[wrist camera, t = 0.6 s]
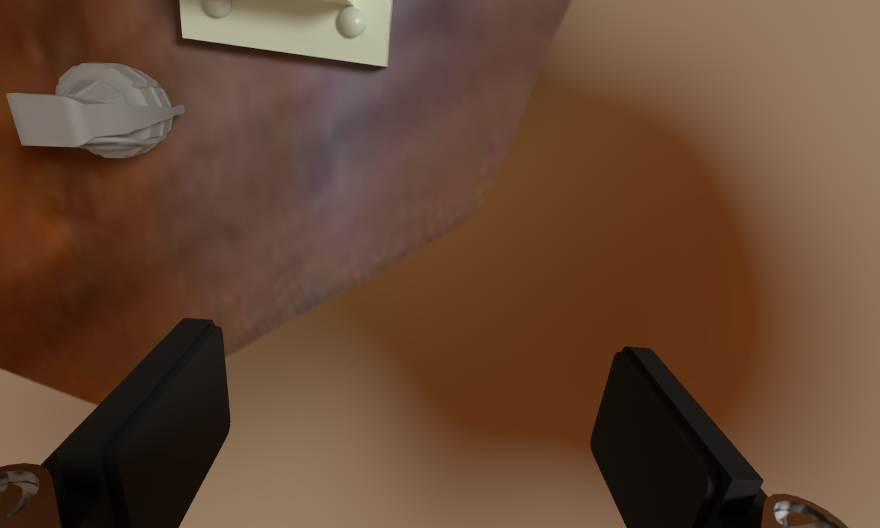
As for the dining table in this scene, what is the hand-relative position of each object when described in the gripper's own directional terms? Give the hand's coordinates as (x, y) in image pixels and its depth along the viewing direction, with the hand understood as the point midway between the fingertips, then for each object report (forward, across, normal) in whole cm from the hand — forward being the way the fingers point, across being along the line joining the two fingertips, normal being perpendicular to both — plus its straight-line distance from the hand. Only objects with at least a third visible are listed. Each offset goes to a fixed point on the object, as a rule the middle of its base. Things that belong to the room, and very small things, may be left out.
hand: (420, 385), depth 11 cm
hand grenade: (+28, +20, -3) cm, 35 cm away
